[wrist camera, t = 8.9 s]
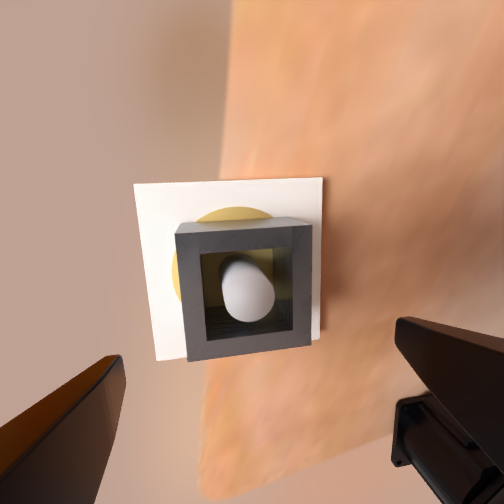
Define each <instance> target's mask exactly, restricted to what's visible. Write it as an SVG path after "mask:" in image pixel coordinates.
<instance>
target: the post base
mask: <svg viewBox="0 0 504 504" xmlns="http://www.w3.org/2000/svg"><path fill="white" fill-rule="evenodd" d="M322 178H323V177H315V178H287V179H259V180H232V181H204V182H176V183H151V184H150V183H148V184H134V192H135V200H136V207H137V215H138V222H139V230H140V237H141V244H142V252H143V260H144V268H145V275H146V282H147V290H148V298H149V305H150V313H151V321H152V327H153V335H154V343H155V351H156V358H157V361H161V360H169V359H176V358H184V357H187V350H186V341H185V331H184V322H183V312H182V302H181V293H180V283H179V274H178V264H177V255H176V245H175V235H174V233H175V232H176V230H177V228H178V227H179V225H180V223H188V222H205V221H222V220H238V219H255V218H272V217H290V218H293V219H297V220H300V221H303V222H306V223H309V224H312V225H313V227H312V323H311V340H317V339H320V287H321V233H322ZM201 260H202V272H203V284H204V296H205V308H208V307H217V306H226V308H227V311H228V312H229V313H230V315H231V316H233V317H234V318H235V319H237V320H240V321H244V322H252V321H256V320H259V319H261V318H263V317H264V316H265V315H267V314H268V313H269V311H270V310H271V308H272V306H273V304H274V300H275V292H274V289H273V252H272V248H270V249H257V250H244V251H232V252H219V253H206V254H201Z"/></svg>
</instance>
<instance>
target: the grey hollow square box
mask: <svg viewBox="0 0 504 504" xmlns="http://www.w3.org/2000/svg"><path fill="white" fill-rule="evenodd" d="M312 227H313V225H312V224H309V223H306V222H303V221H300V220H297V219H293V218H290V217H272V218H255V219H238V220H222V221H205V222H188V223H180V225H179V227H178V228H177V230H176V232H175V233H174V235H175V245H176V255H177V264H178V274H179V283H180V293H181V302H182V312H183V322H184V331H185V341H186V350H187V360H188V362H193V361H200V360H208V359H215V358H222V357H229V356H236V355H244V354H251V353H258V352H265V351H272V350H279V349H287V348H294V347H301V346H308V345H311V323H312ZM270 248H272V252H273V289H274V292H275V300H274V304H273V306H272V308H271V310H270V311H269V313H268V314H267V315H265V316H264V317H263V318H261V319H259V320H256V321H252V322H244V321H240V320H237V319H235V318H234V317H233V316H231V315H230V313H229V312H228V311H227V308H226V306H217V307H208V308H205V296H204V284H203V272H202V260H201V254H206V253H219V252H232V251H244V250H257V249H270Z"/></svg>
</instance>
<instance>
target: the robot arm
mask: <svg viewBox="0 0 504 504" xmlns="http://www.w3.org/2000/svg"><path fill="white" fill-rule="evenodd" d="M395 344H396V346H397V348H398V349H399V351H400V352H401V353H402V355H403V356H404V357H405V359H406V360H407V362H408V363H409V364H410V366H411V367H412V368H413V370H414V371H415V372H416V374H417V375H418V376H419V378H420V379H421V380H422V382H423V383H424V384H425V385H426V387H427V388H428V389H429V390H430V391H431V392H432V394H433V395H429V396H424V397H418V398H413V399H407V400H402V401H399V402H398V403H397V405H396V412H395V422H394V433H393V444H392V454H391V461H392V463H393V464H394V466H395V467H401V466H406V465H410V464H412V465H413V466H414V468H415V469H416V470H417V472H418V473H419V474H420V475H421V477H422V478H423V479H424V481H425V482H426V483H427V485H428V486H429V487H430V489H431V490H432V491H433V493H434V494H435V495H436V496H437V498H438V499H439V500H440V502H441V503H442V504H504V339H503V338H499V337H494V336H490V335H486V334H482V333H478V332H473V331H469V330H465V329H461V328H457V327H452V326H448V325H444V324H440V323H435V322H431V321H427V320H423V319H419V318H414V317H400V318H398V319H397V321H396V328H395ZM125 388H126V377H125V371H124V365H123V359H122V356H121V355H110V356H106V357H104V358H102V359H101V360H99V361H98V362H97V363H95V364H93V365H92V366H90V367H89V368H87V369H86V370H85V371H83V372H81V373H80V374H78V375H77V376H76V377H74V378H73V379H71V380H70V381H68V382H67V383H65V384H64V385H62V386H61V387H59V388H58V389H56V390H55V391H54V392H52V393H51V394H49V395H47V396H46V397H45V398H43V399H42V400H40V401H39V402H37V403H36V404H34V405H33V406H31V407H30V408H28V409H27V410H25V411H24V412H22V413H21V414H19V415H18V416H17V417H15V418H14V419H12V420H11V421H9V422H8V423H6V424H5V425H3V426H2V427H0V504H94V502H95V499H96V496H97V493H98V490H99V487H100V483H101V480H102V478H103V474H104V471H105V468H106V465H107V462H108V459H109V456H110V453H111V450H112V446H113V443H114V439H115V435H116V431H117V426H118V421H119V417H120V411H121V406H122V402H123V397H124V392H125Z"/></svg>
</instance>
